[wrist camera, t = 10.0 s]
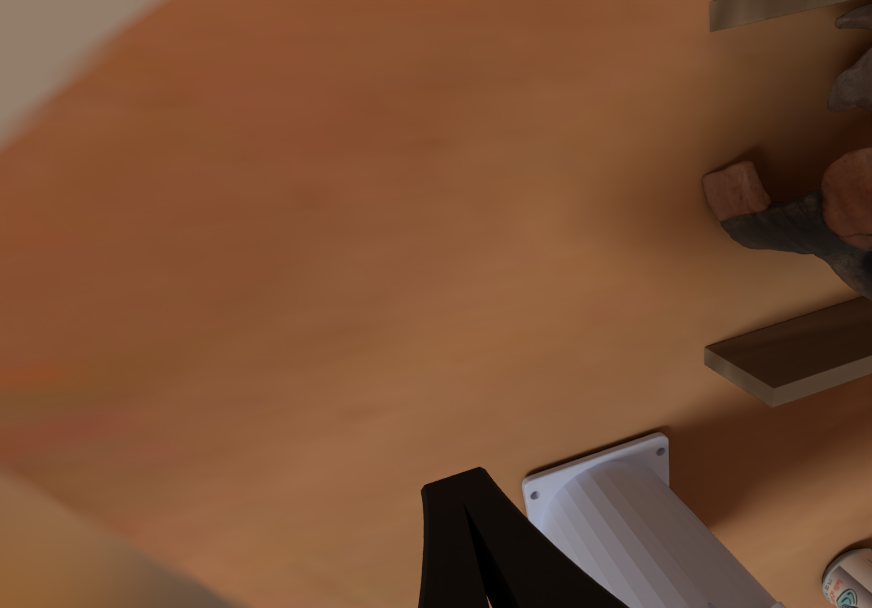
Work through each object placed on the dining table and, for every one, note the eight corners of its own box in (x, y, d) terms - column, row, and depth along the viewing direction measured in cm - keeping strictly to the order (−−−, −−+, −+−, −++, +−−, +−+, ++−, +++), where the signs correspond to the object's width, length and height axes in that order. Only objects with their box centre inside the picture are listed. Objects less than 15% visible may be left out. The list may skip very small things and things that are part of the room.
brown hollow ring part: (651, 130, 20) (919, -11, 13) (747, 53, 24) (991, -87, 17) (777, 362, 22) (1072, 358, 15) (846, 254, 26) (1102, 208, 19)
